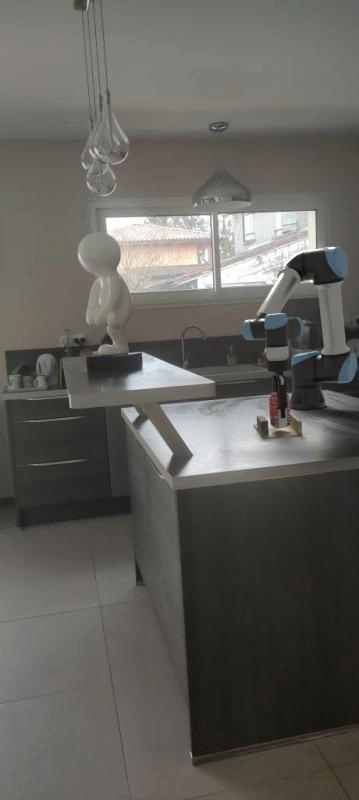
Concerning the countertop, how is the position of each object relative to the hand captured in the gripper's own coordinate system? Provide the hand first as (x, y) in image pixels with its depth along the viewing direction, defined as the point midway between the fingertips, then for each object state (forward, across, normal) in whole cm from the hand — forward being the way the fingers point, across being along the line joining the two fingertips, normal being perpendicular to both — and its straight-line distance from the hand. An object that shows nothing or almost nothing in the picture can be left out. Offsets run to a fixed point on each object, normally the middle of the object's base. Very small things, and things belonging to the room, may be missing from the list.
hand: (280, 424), depth 201 cm
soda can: (+1, 0, 0) cm, 1 cm away
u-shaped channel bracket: (+3, -5, -1) cm, 6 cm away
